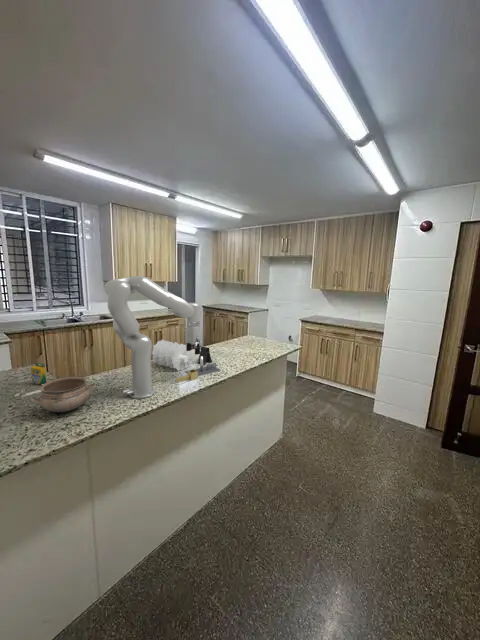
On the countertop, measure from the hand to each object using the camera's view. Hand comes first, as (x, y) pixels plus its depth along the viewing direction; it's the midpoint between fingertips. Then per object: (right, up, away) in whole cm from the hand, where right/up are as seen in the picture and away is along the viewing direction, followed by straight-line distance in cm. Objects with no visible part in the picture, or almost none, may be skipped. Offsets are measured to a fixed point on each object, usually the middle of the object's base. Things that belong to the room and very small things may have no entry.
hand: (193, 352), depth 160 cm
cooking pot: (-52, -22, -36) cm, 67 cm away
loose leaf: (-4, -17, 0) cm, 17 cm away
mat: (+4, -14, +15) cm, 21 cm away
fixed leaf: (+7, -14, +18) cm, 23 cm away
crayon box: (-84, -17, -9) cm, 86 cm away
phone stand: (+3, -12, +32) cm, 34 cm away
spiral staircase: (-18, -13, +22) cm, 31 cm away
